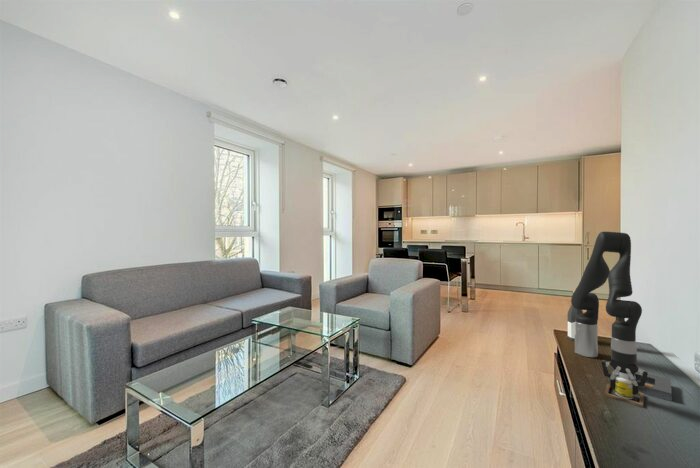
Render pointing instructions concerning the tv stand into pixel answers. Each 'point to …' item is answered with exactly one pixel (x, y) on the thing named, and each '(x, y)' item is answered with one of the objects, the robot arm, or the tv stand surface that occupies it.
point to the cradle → (624, 398)
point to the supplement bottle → (623, 386)
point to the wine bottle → (572, 321)
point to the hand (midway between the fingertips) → (623, 390)
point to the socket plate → (655, 386)
